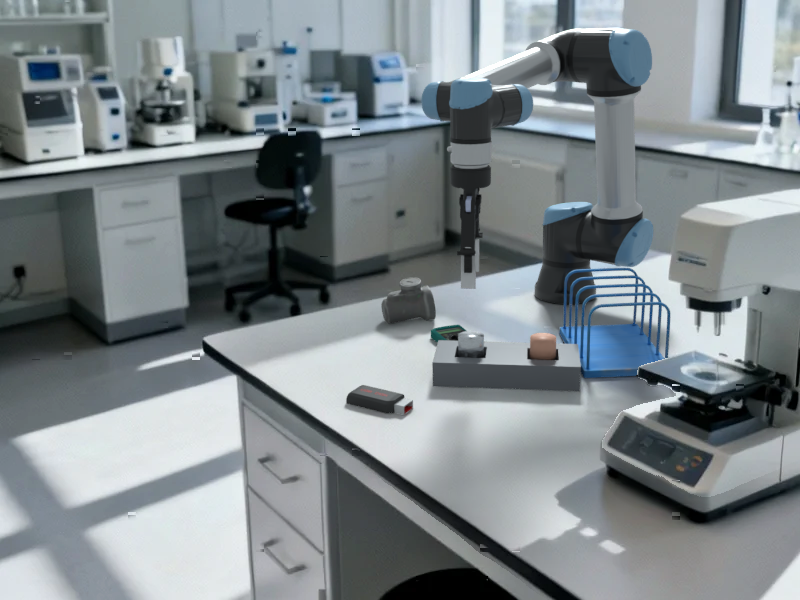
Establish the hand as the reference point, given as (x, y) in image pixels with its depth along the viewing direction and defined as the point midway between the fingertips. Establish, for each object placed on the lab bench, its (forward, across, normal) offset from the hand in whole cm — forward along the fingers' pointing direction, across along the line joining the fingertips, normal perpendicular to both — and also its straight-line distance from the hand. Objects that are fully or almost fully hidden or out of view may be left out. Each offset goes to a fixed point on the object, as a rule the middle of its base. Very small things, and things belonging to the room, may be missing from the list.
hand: (470, 279), depth 177 cm
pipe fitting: (+20, -31, -16) cm, 41 cm away
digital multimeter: (+21, -16, -4) cm, 26 cm away
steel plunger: (+15, 0, 0) cm, 15 cm away
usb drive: (+21, +15, -16) cm, 30 cm away
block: (+20, 0, +7) cm, 21 cm away
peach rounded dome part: (+15, 0, +14) cm, 21 cm away
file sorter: (+20, -14, +29) cm, 38 cm away
